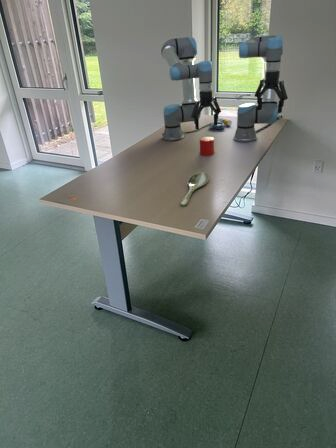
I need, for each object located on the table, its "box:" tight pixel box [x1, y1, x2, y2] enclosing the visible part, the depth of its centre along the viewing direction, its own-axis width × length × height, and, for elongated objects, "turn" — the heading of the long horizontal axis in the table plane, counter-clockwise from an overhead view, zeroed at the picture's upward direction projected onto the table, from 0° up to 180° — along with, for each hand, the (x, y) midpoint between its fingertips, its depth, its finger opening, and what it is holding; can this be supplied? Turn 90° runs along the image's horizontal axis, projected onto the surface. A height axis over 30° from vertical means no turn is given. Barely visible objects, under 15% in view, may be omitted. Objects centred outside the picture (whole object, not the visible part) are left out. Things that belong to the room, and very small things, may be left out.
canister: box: [199, 136, 215, 157], centre depth 212 cm, size 9×9×10 cm
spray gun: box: [209, 118, 233, 130], centre depth 263 cm, size 21×4×15 cm
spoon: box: [180, 171, 210, 207], centre depth 170 cm, size 35×11×2 cm, turn 159°
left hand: (206, 127), depth 206 cm, fingers open, 13 cm apart
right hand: (269, 111), depth 190 cm, fingers open, 13 cm apart
